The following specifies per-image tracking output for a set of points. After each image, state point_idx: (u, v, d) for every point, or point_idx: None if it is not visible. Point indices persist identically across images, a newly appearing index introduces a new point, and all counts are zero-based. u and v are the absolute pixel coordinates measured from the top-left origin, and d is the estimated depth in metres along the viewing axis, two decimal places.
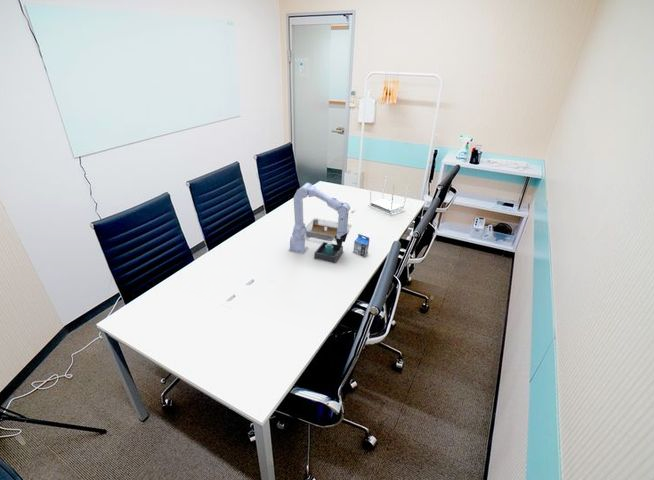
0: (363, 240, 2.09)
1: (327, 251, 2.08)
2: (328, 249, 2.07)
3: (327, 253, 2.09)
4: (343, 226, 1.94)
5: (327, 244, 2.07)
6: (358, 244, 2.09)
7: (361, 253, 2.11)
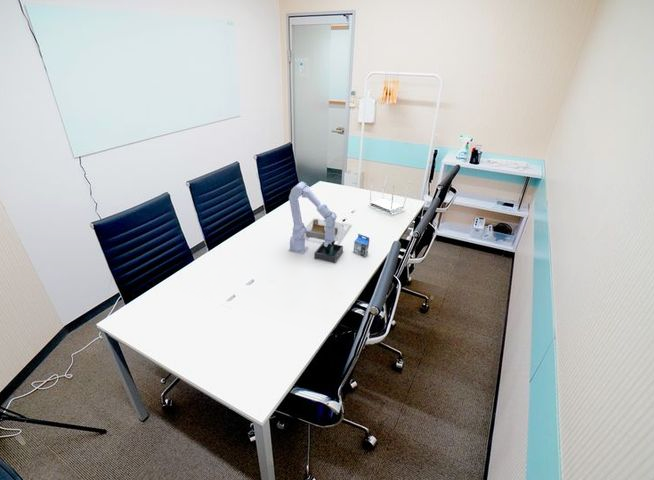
0: (363, 240, 2.09)
1: None
2: None
3: None
4: (330, 234, 2.01)
5: None
6: (358, 244, 2.09)
7: (361, 253, 2.11)
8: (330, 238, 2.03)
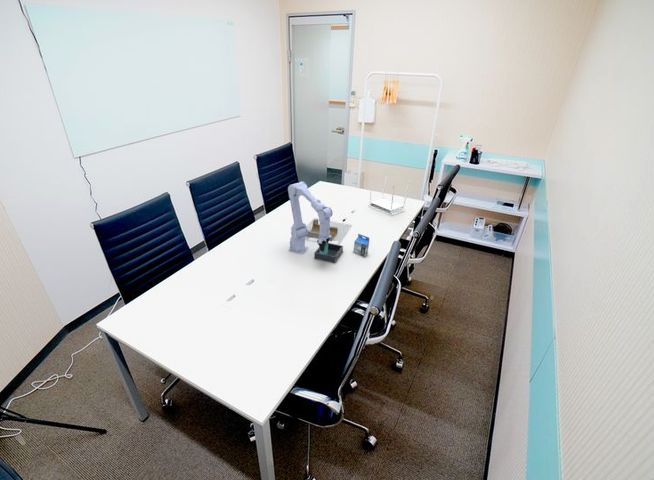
0: (363, 240, 2.09)
1: None
2: None
3: None
4: (325, 230, 1.89)
5: None
6: (358, 244, 2.09)
7: (361, 253, 2.11)
8: (325, 234, 1.90)
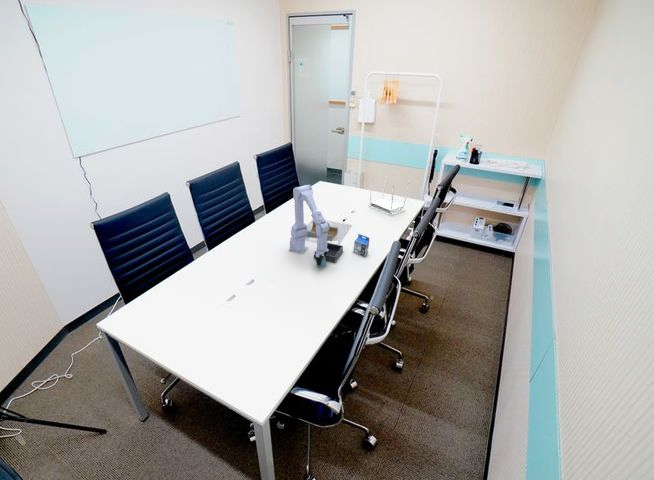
0: (363, 240, 2.09)
1: None
2: None
3: None
4: (322, 244, 1.90)
5: None
6: (358, 244, 2.09)
7: (361, 253, 2.11)
8: (322, 248, 1.92)
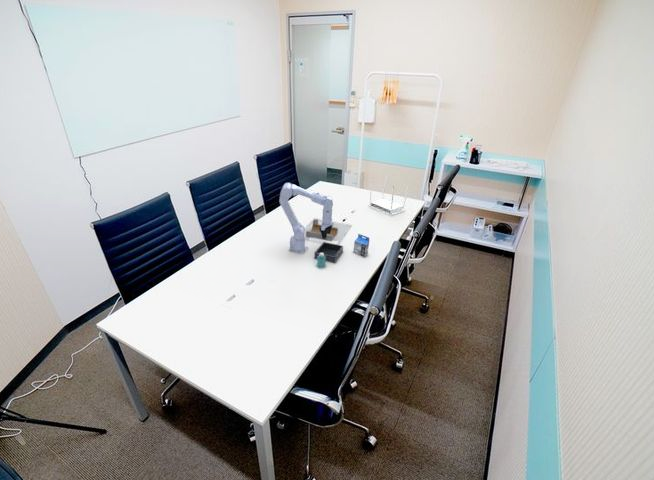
0: (363, 240, 2.09)
1: (319, 262, 1.97)
2: (320, 260, 1.96)
3: (319, 264, 1.98)
4: (327, 218, 2.02)
5: (319, 255, 1.97)
6: (358, 244, 2.09)
7: (361, 253, 2.11)
8: (327, 222, 2.04)
